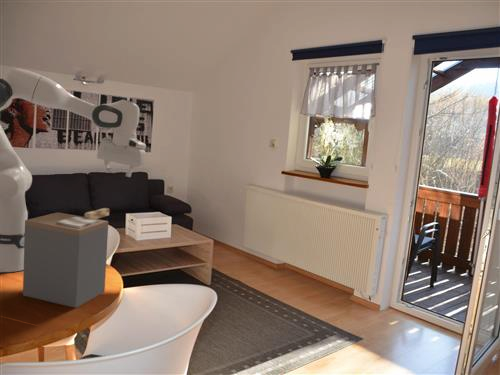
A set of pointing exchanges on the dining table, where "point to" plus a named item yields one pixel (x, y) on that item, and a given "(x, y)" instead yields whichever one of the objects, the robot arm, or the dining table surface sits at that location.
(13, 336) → the dining table surface
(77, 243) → the grey box
